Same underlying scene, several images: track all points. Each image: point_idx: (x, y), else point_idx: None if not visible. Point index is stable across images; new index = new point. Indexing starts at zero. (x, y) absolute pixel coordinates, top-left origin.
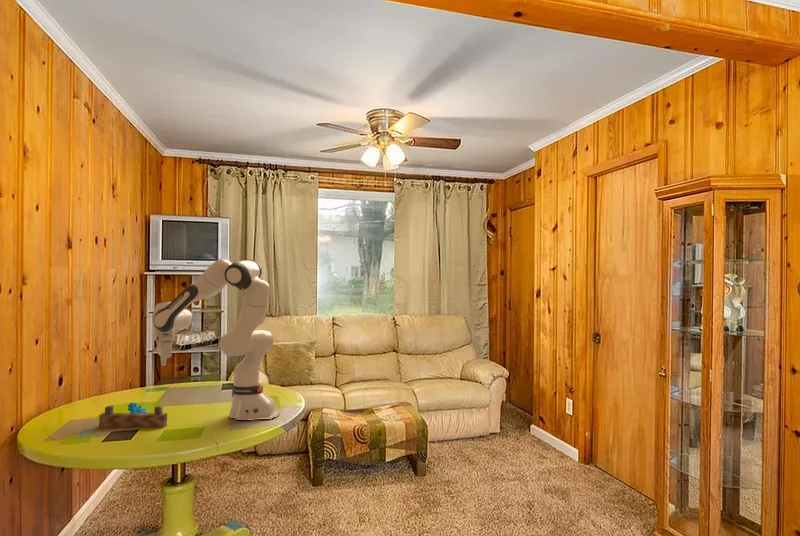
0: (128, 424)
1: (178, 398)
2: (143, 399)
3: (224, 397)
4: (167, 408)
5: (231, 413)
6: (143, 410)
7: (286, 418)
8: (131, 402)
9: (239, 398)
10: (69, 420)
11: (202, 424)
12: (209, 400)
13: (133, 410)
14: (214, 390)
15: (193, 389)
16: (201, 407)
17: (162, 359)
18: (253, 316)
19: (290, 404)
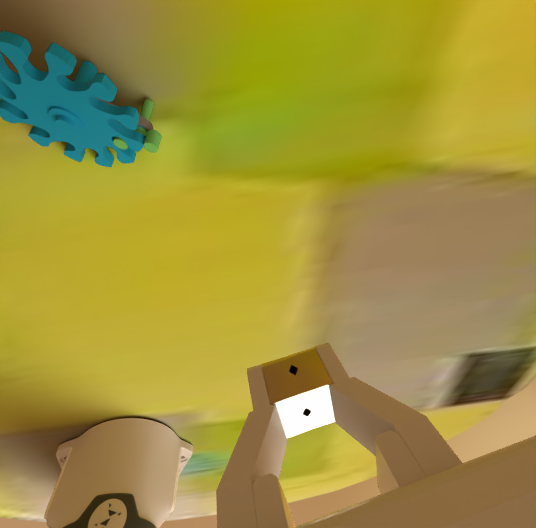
0: None
1: (422, 243)
2: (489, 89)
3: (362, 374)
4: (278, 224)
5: (94, 439)
6: (118, 142)
7: None
8: (54, 55)
9: (51, 523)
10: None
11: (20, 369)
12: (343, 343)
13: (12, 89)
14: (469, 337)
15: (527, 275)
16: (256, 334)
17: (228, 478)
18: None
19: None
